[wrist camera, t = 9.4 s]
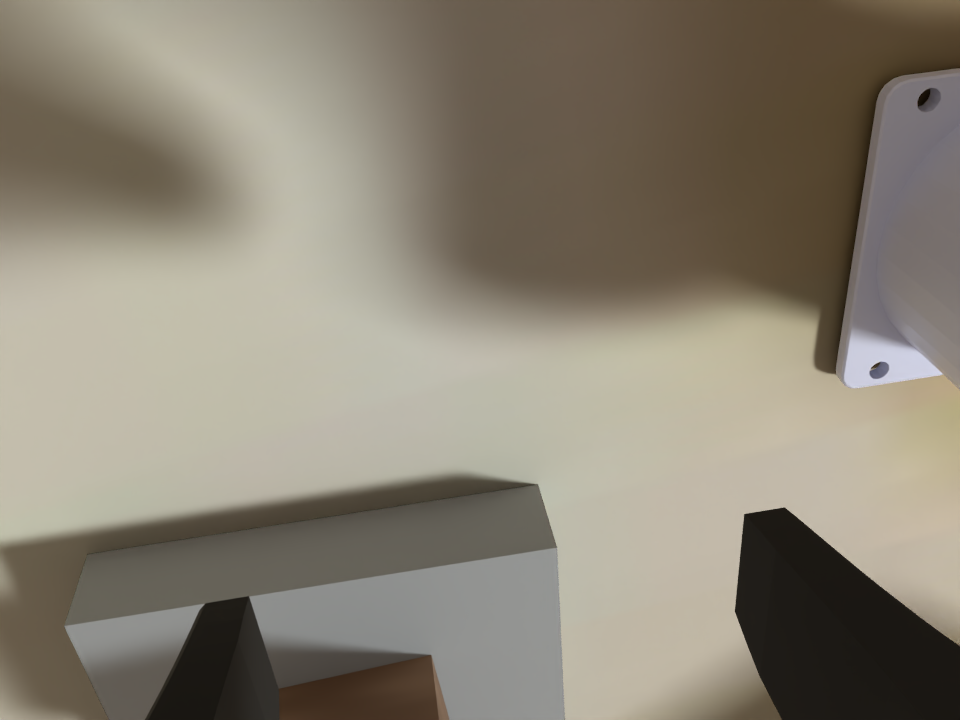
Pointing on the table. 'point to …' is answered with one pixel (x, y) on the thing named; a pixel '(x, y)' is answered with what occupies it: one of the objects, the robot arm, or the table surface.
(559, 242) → the table surface
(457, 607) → the slate block
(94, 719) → the table surface
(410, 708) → the walnut block
